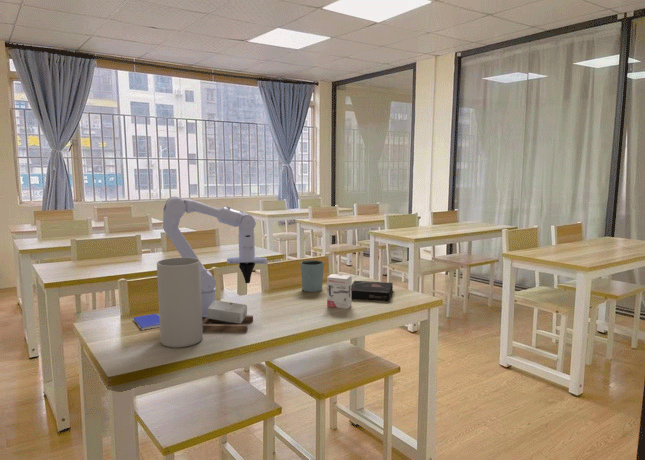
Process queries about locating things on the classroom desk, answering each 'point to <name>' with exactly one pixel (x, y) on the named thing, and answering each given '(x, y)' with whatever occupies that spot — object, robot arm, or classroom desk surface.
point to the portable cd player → (371, 291)
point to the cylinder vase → (180, 301)
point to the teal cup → (312, 275)
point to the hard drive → (148, 321)
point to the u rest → (226, 325)
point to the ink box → (339, 291)
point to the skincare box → (227, 311)
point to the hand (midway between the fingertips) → (247, 282)
